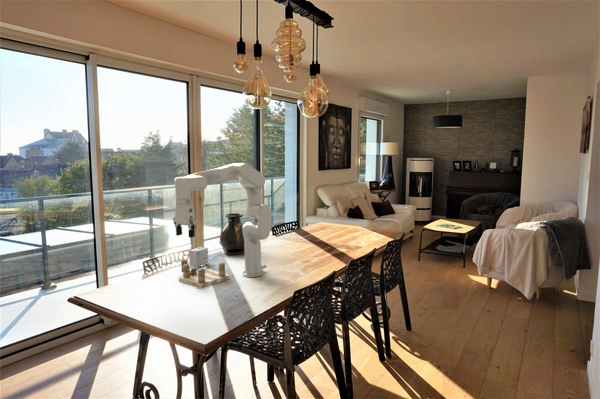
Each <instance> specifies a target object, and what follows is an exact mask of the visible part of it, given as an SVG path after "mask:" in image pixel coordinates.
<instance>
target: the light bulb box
mask: <svg viewBox="0 0 600 399" xmlns="http://www.w3.org/2000/svg"><path fill="white" fill-rule="evenodd" d="M188 257H189V259H188V260H189V267H190V268H196V267H197V268H199V266H200V267H202V266H201V265H203V266H205V265H204V264H206V265H208V264H209V248H208V247H203V246H199V247H196V248H193V249H189V250H188ZM207 263H208V264H207Z"/></svg>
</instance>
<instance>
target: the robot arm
mask: <svg viewBox="0 0 600 399" xmlns="http://www.w3.org/2000/svg"><path fill="white" fill-rule="evenodd" d="M236 179H238V181H239V183H240V185H241V186H242V188H244V190H245V191H246V211H245V212H246V216H247V218H248V219H251V221H246V222H245V223H244V224H243V229H242V231H243V236H244V243H245V253H244V271H242V276H243V277H246V278H257V277H258V278H259V277H261V276H263V275H264V274H265V271H264V269H266V268H267V267H268V266H267V264H262V245H261V240H262V241H263V240H267V239H268V238H269V236H270V234H271V228H272V227H271V226H272V214H273V213H272V209H271V207H270V206H269V205H268V204H266V203H262V202H263V200H262V198H263V193H262V190H261V188H263V187H264V186H265V184H266V178H265V176H264V174H262V172H260V171H258V170H257V169H256V168H255V167H253V166H251V165H250V164H248V163H246V162H234V163H230V164H226V165H224V166H220V167H219V166H218V167H216V168H212V169H208V170H204V171H199V172H194V173H192V174H188V175H186V176H178V177H175V178H174V188H175V189H174V191H175V193H174V194H175V210H174V211H175V214H174V217H173V218H172V220H173V221H172V222H173V224H174V228H175V235H176V236H181V235H183V227H182V226H187V228H188V238H190V239H191V238H194V237H195V236H196V233H195V232H196V231H195V230H196V227H197V224H198V220H196V214H195V210H194V205H193V198H192V192H194V191H195V192H201V191H204V190H206V188H207V187H208V185H221V184H224V183H227V182H231V181H233V180H236ZM252 220H256V221H252Z"/></svg>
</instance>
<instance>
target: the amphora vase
mask: <svg viewBox="0 0 600 399" xmlns="http://www.w3.org/2000/svg"><path fill="white" fill-rule="evenodd" d="M224 217H225V218H227V223H226V224H225V225H224V227H223V228H222V229H221V231H220V233H219V234H220V235H219V244H220V245H221V247H222V248H223V249H224V250H223V253H224V254H225V255H229V256H240V255H243V254H244V255H245V243H244V236H243V231H242V229H243V225H244V224H243V223H242V221H241V219H242V217H244V214H242V213H240V212H239V213H233V212H232V213H227V214H225V215H224Z"/></svg>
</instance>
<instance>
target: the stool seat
mask: <svg viewBox="0 0 600 399" xmlns="http://www.w3.org/2000/svg"><path fill="white" fill-rule="evenodd" d="M217 265H218V266H217V267H218V271H217V270H213V269H209V268H206V269H205V268H204V267H203V268H202V267H201V268H197V275H191V274H190V270H191V269H190V268H191V266H190V263H188V264H184V265H183V272H182V276H179V277H178V281H179V282H182V283H185V284H187V285H191V286H193V287H196V288H199V289H202V288H205V287H208V286H211V285H214V284H218V283H221V282H224V281H226V280H229V279H230V278H231V277H230V275H229V274H228V273H227V274H226V263H225V262H219V263H217Z"/></svg>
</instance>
